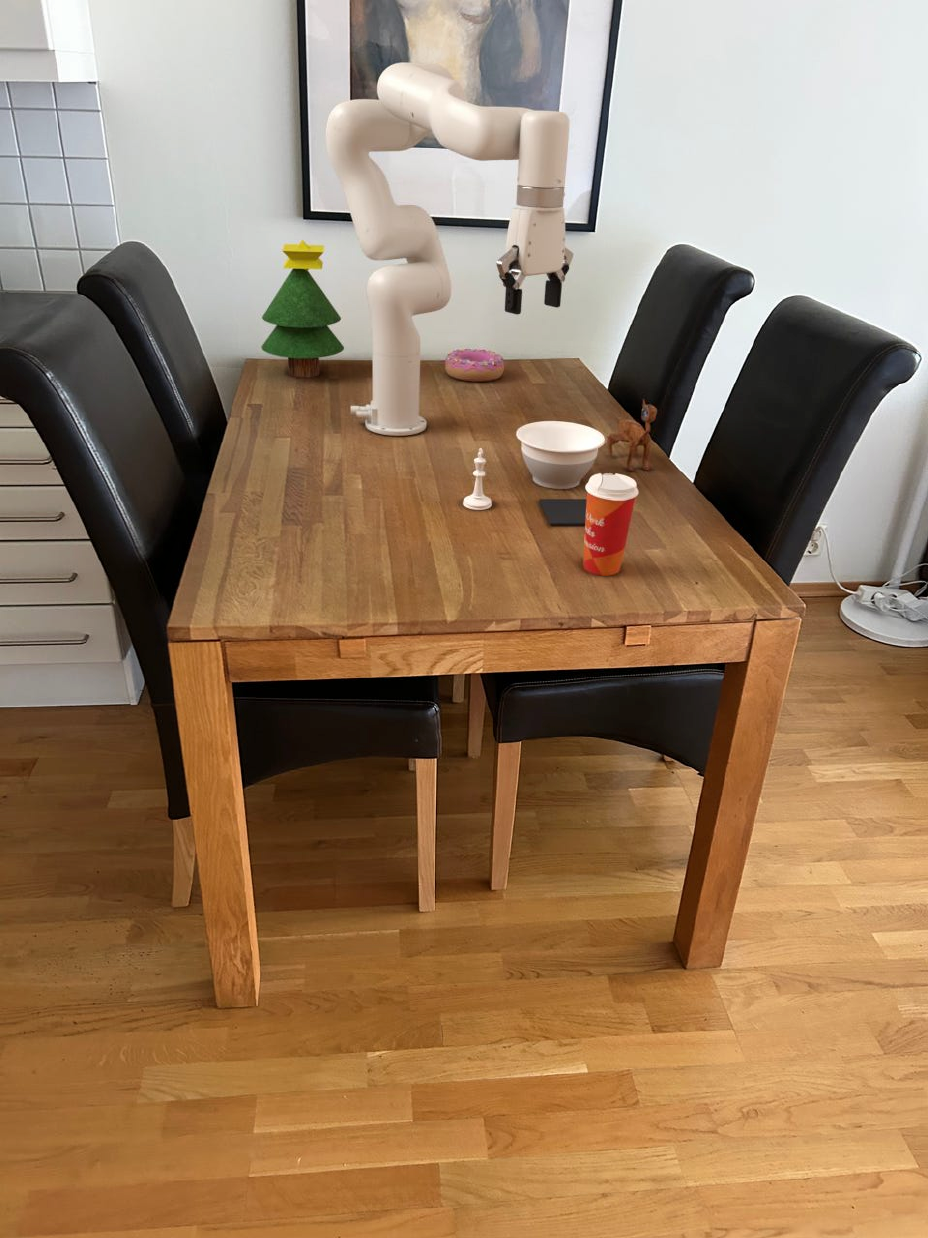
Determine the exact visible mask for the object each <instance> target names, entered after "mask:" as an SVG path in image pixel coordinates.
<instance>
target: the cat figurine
mask: <svg viewBox="0 0 928 1238" xmlns="http://www.w3.org/2000/svg"><path fill="white" fill-rule="evenodd" d="M641 404H642V409H641V414H640V415H641V416H640V418H641V420H642V421H643V422H644V423H645V428H644V427H643V426H642V424H640V423H639V422H637V421H635V420H633V419H622V420H620V421H619V422H618V428H617V431H616V432H614V433H610V434H609V435H608V436H607V440H606V445H607V452H608V455H609V456H611V457H614V454H613V445H615V444H618V443H619V442H624V443H627V445H628V454H627V459H626V467H627V470H628V472H634V471H635V470H634V468H633V457H634V455H635V456H638V455H639V454H640V453H639V447H641V446H643V454H642V459H641V467H642V469H643V470H644V471H650V470H651V469H650V467H649V456H650V452H651V449H652V448H651V447H652V441H651V438H652V437H651V436H650V432H651V424H650V423H653V422H654V421H655V420H656V417H657V414H658V409H657V408H656V407H655V406H654V405H652V404H651V403H650V404H646V402H645V399H644V398H643V399H642V403H641Z"/></svg>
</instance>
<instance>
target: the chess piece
mask: <svg viewBox="0 0 928 1238" xmlns="http://www.w3.org/2000/svg"><path fill="white" fill-rule="evenodd" d="M483 454H484V450H483V448H482V447H479V448H478V453H477V457H475V458H474V459H473V463H474V466H475V470H474V471H473V472H472V475H473V476H474V477H475V483H474V488H473V493H471V494H470V495H467V496H465V498H464V499H463V502H462V504H463V506H464V507H465V508H467V509H469V510H475V511H482V510H483V511H485V510H488V509H490V508H491V507H492V505H493V502H492V499H491V498H490V497H489V496H486V495H485V494H484V490H483V477H485V476H486V471H484V468H485V465H486V463H487V460H486V459H485V458H484V457H483Z"/></svg>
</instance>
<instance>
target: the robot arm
mask: <svg viewBox="0 0 928 1238" xmlns="http://www.w3.org/2000/svg"><path fill="white" fill-rule="evenodd" d="M377 80H378V81H377V83H376V84H377V85H376V92H377V93H376V94H377V97H378V99H373V98H372V99H371V98H369V99H368V98H362V99H361V98H359V99H350V100H346V101H343V102H340V103H339V104H337V105H336V106H334V107H333V109H332V110H331V111H330V113H329V114H328V117H327V121H326V126H325V145H326V151H327V155H328V158H329V161H330V163H331V166H332V168H333V171H334V173H335V175H336V177H337V179H338V181H339V183H340V186H341V188H342V190H343V194H344V196H345V200H346V203H347V207H348V210H349V213H350V217H351V220H352V224H353V227H354V230H355V234H356V236H357V240H358V243H359V246H360V248H361V251H362V252H363V254H364V255H365V257H367V258H368V259H370V260H371V261H392V260H400V259H401V260H402V259H405V260H406V263H398V264H392V265H386V266H383V267H380V268H378V269H376V270H375V271H374V272H373V273H372V274H371V275H370V276H369V279H368V281H367V283H366V284H367V285H366V298H367V299H366V300H367V304H368V310H369V315H370V324H371V348H372V350H371V352H372V356H371V357H372V400H370V404H365V406H360V405H350V416H356V419H365V420H364V425H365V428H366V429H367V430H368V431H370V432H372V433H375V434H377V435H382V436H389V437H390V436H391V437H405V436H413V435H417V434H419V433H422V432H423V431H425V430H426V428H427V420H426V419H425V418H424V417H422V416H421V415H420V392H421V391H420V390H421V389H420V388H421V387H420V385H421V338H420V333H419V330H418V329H417V327H416V325H415V323H414V321H413V317H414V316H418V315H423V314H429V313H433V312H437V311H440V310H442V309H444V308H445V307H446V306H447V305H448V303H449V301H450V299H451V296H452V281H451V280H452V279H451V275H450V272H449V269H448V264H447V261H446V258H445V254H444V250H443V246H442V244H441V240H440V237H439V233H438V230H437V226H436V224H435V222H434V219H433V218H432V217H431V215H430V214H429V212H427V210H426V209H424V208H423V207H421V206H420V205H419V206H418V205H416V204H402V205H401V204H400V205H398V204H397V203H396V202H395V200H394V198H393V194H392V192H391V188H390V185H389V181H388V179H387V177H386V174H385V173H384V172H383V170H382V169H381V168H380V166H379V165H378V164H377V162H375V161H374V159H372V157H371V156H370V152H376V153H377V152H403V151H407V150H410V149H411V148H413V147H415V146H416V145H417V144H419V143H420V142H421V141H422V140H423V139H424V138H426V137H427V136H428V135H429V134H430V133H432V134H433V136H434V137H435V139H436V141H437V142H438V143H439V144H440V145H441V146H442V147H444V148H445V149H447V150H448V151H451V152H453V153H456V154H458V155H460V156H463V157H465V158H468V159H471V160H475V161H479V162H480V161H481V162H485V161H518V164H517V165H518V166H517V182H516V184H517V186H516V200H515V201H516V202H515V207H512V210H511V214H510V218H509V223H508V227H507V233H506V241H505V250H504V254H503V255H502V256H501V257H500V258H498V259H497V261H496V267H497V271H498V276H499V279H500V280H501V282H502V286H503V287H504V288H505V295H504V297H505V298H504V312H506V313H509V314H513V315H520V314H521V313H522V302H523V301H522V300H523V288H521V286H522V284H523V282H524V280H525V279H526V277H532V276H538V275H546V276H547V280H545V286H544V299H543V300H544V301H543V304H544V305H545V306H547V307H553V308H561V301H562V300H561V299H562V289H563V283H564V282H565V281H566V275H567V274H568V272H569V270H570V266H571V263H572V261H573V258H574V253H573V252H572V251H571V250H570V249H568V248H567V247H566V217H565V216H566V215H565V208H564V203H565V196H566V191H565V189H566V188H565V187H566V175H567V174H566V173H567V165H568V164H567V161H568V149H569V138H570V136H569V135H570V118H569V116H568V114H567V113H565V112H563V111H558V110H557V111H556V110H535V109H531V108H526V107H520V106H519V107H518V106H517V107H516V106H481V105H476V104H473V103H471V102H469V101H468V96H467V93H466V90H465V89H464V87H463V85H462V84H460V82H458V81H457V80H455V79H454V76H453V75H452V73H451V72H450V71H449V70H448V69H447V68H446V67H444V66H442V65H441V64H437V63H436V64H435V63H423V62H396V63H393V64H391V65H389V66H388V67H386V68H385V69H384V70H383V71H382V72H381V74H380V75H379V77H378V79H377Z"/></svg>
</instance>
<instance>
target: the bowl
mask: <svg viewBox="0 0 928 1238" xmlns="http://www.w3.org/2000/svg"><path fill="white" fill-rule="evenodd" d="M516 438H517V439H518V440H519V441H520V442H521V445H520V446H521V447H520V448H521V454H522V458H523V462H524V464H525V466H526V467H527V469H528V471H529V472H530V474H531V476H532V481H533V482H534V483H535V484H536V485H538V486H542V487H544V488H548V489H554V490H556V489H557V490H567V489H572V488H576V487H577V486H579V485H580V483H581V480H582V479H583V478H584V477H585V476H586V474H588V473H589V472H590V470H591V469H592V467H593V465H594V464H595V462H596V460H597V459H596V458H597V457H598V452H599V448H601V447H602V446H604V445H605V444H606V439H605V436H604V434H603V433H602V432H600V431H599V430H597V429H595V428H593V427H590V426H588V425H584V424H581V423H576V422H569V421H561V420H559V421H558V420H544V421H535V422H531V423H526V424H524V425H522V426H520V427H519V428H518V429H517V430H516Z"/></svg>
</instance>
